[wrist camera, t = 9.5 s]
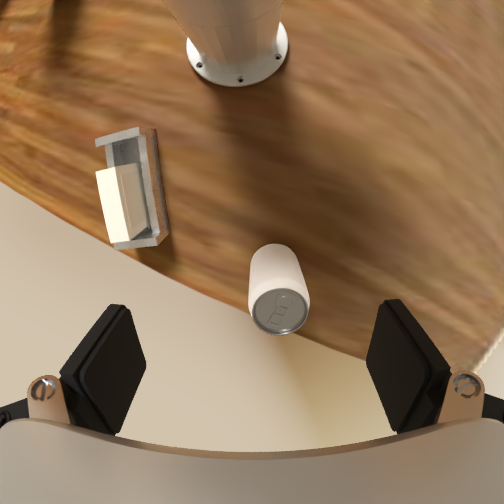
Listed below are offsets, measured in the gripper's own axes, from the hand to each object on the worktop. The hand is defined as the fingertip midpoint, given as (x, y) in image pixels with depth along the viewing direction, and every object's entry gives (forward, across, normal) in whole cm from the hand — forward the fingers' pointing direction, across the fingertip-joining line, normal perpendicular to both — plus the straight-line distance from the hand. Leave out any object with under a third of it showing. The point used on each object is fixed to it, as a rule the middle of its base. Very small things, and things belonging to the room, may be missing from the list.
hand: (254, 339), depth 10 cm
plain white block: (+26, +15, -2) cm, 30 cm away
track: (+27, +15, -3) cm, 31 cm away
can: (+28, -2, +9) cm, 29 cm away
